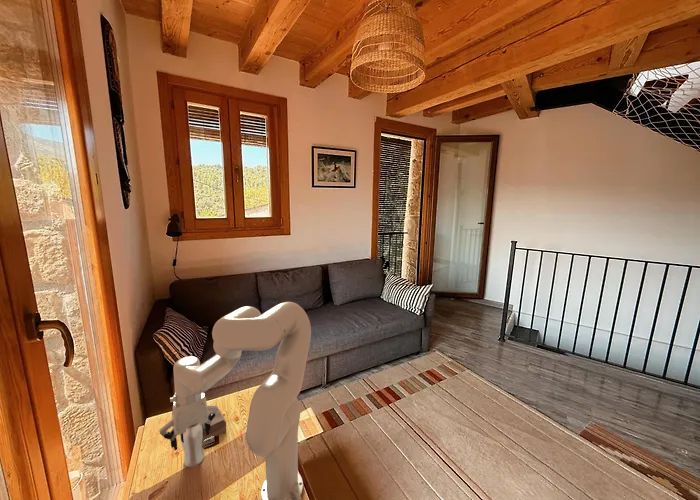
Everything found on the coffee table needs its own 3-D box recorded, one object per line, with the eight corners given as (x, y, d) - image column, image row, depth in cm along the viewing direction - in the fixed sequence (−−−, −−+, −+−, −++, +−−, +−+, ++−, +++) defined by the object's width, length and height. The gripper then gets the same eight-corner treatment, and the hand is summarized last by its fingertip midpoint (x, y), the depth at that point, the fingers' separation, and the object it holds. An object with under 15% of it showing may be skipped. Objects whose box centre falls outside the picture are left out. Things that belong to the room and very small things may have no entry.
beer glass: (180, 458, 98) (176, 420, 95) (202, 447, 102) (199, 410, 100) (185, 473, 93) (181, 432, 90) (208, 460, 97) (205, 421, 95)
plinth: (226, 431, 110) (225, 419, 109) (195, 446, 103) (194, 434, 102) (217, 415, 118) (216, 404, 117) (187, 428, 111) (186, 417, 110)
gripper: (159, 413, 85) (163, 462, 88) (220, 390, 96) (221, 433, 99) (155, 399, 90) (159, 446, 93) (213, 379, 102) (215, 421, 105)
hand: (191, 439), depth 96 cm, fingers open, 9 cm apart
